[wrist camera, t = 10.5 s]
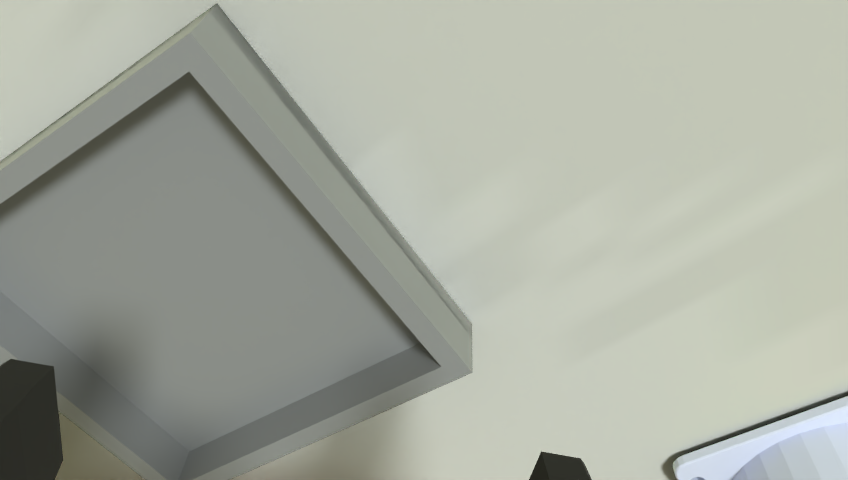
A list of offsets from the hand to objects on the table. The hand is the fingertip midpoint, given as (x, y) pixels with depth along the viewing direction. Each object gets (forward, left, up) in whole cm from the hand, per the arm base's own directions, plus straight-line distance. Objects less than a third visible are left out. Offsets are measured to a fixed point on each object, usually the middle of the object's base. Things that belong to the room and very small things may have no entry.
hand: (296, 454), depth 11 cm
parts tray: (0, +6, -9) cm, 11 cm away
